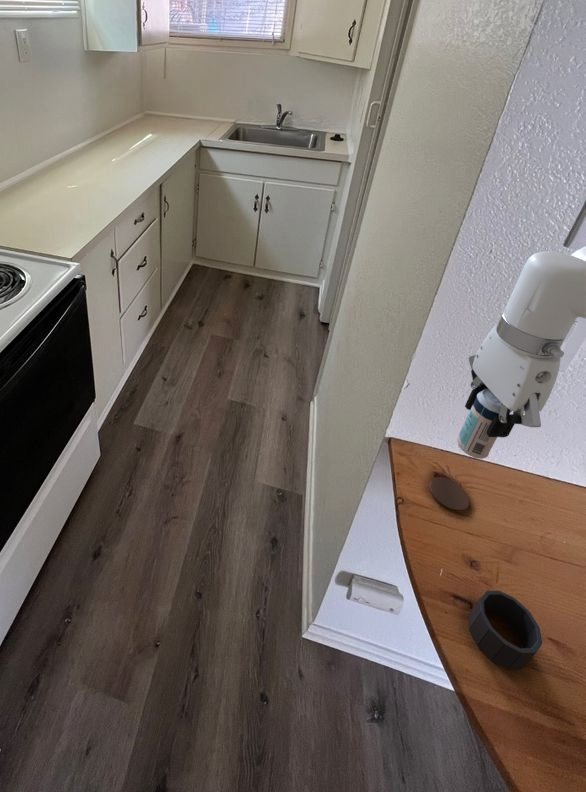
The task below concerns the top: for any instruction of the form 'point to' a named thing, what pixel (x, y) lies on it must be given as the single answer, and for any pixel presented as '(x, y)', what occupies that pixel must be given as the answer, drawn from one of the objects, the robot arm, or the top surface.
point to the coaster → (449, 494)
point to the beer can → (479, 425)
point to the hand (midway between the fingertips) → (485, 420)
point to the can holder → (515, 618)
